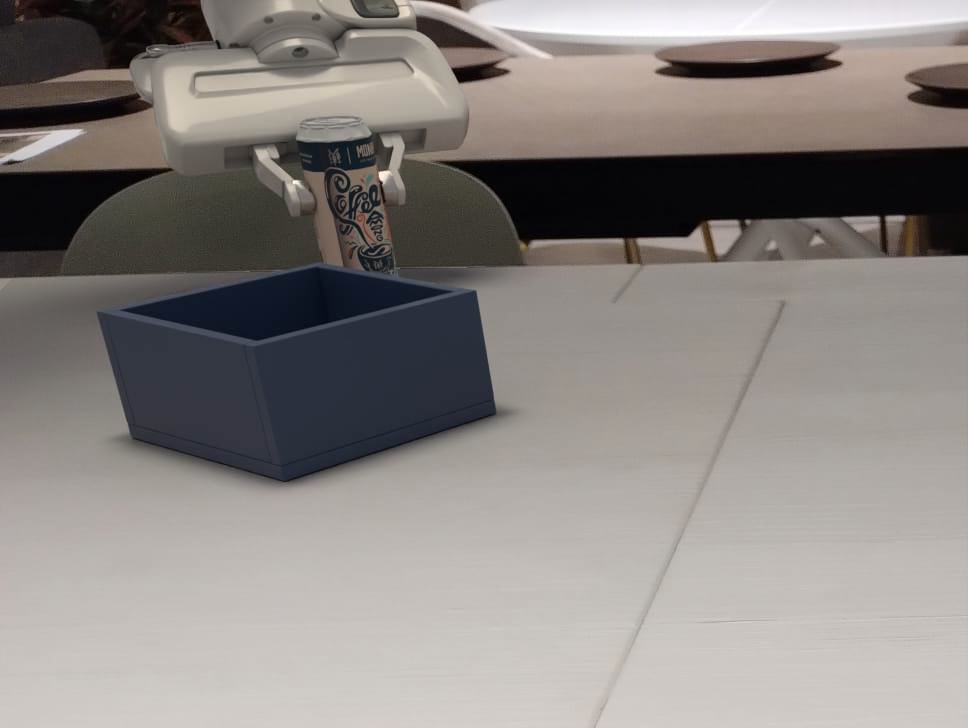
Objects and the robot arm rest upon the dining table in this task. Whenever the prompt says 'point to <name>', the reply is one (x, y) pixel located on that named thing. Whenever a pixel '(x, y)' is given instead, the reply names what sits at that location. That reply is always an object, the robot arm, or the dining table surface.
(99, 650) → the dining table surface
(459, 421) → the bin
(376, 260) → the coffee can
